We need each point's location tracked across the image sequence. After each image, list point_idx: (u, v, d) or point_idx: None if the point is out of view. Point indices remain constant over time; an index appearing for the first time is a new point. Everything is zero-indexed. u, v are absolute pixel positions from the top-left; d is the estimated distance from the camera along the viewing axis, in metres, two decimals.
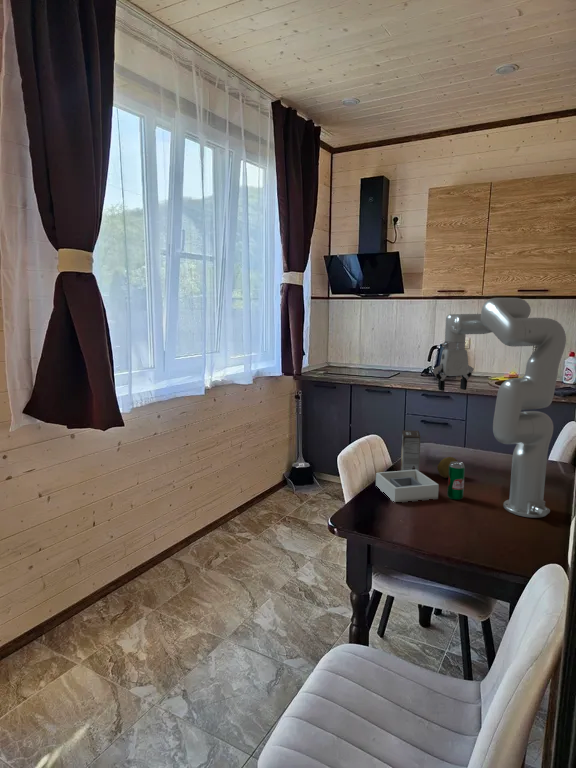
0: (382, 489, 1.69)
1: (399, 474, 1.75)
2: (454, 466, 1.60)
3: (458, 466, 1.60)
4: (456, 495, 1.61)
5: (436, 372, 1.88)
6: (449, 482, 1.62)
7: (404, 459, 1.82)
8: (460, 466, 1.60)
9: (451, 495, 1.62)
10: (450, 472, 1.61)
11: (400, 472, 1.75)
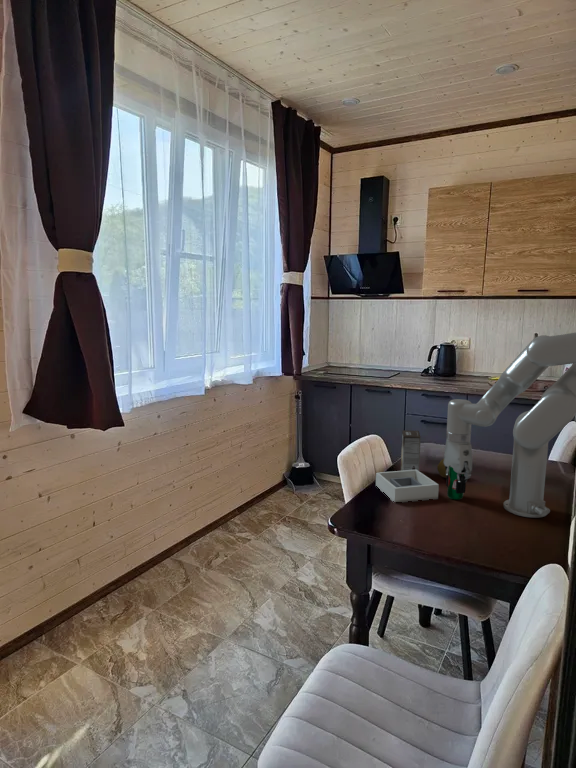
0: (382, 489, 1.69)
1: (399, 474, 1.75)
2: None
3: None
4: (456, 495, 1.61)
5: None
6: (449, 482, 1.62)
7: (404, 459, 1.82)
8: None
9: (451, 495, 1.62)
10: (450, 472, 1.61)
11: (400, 472, 1.75)
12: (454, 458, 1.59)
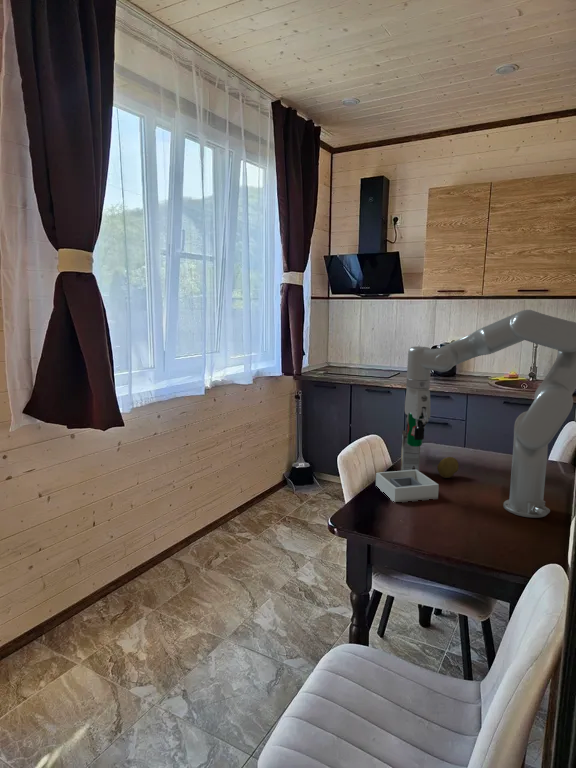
0: (382, 489, 1.69)
1: (399, 474, 1.75)
2: None
3: None
4: (414, 441, 1.62)
5: None
6: (408, 429, 1.64)
7: (404, 459, 1.82)
8: None
9: (410, 442, 1.63)
10: (409, 419, 1.63)
11: (400, 472, 1.75)
12: (413, 404, 1.60)
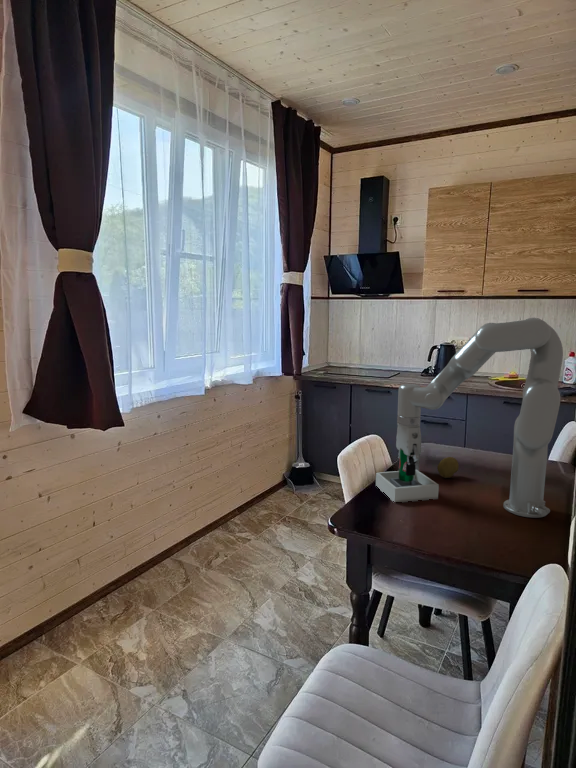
0: (382, 489, 1.69)
1: None
2: None
3: None
4: (406, 477, 1.65)
5: None
6: (400, 464, 1.66)
7: None
8: None
9: (402, 477, 1.66)
10: (400, 455, 1.65)
11: None
12: (404, 441, 1.63)
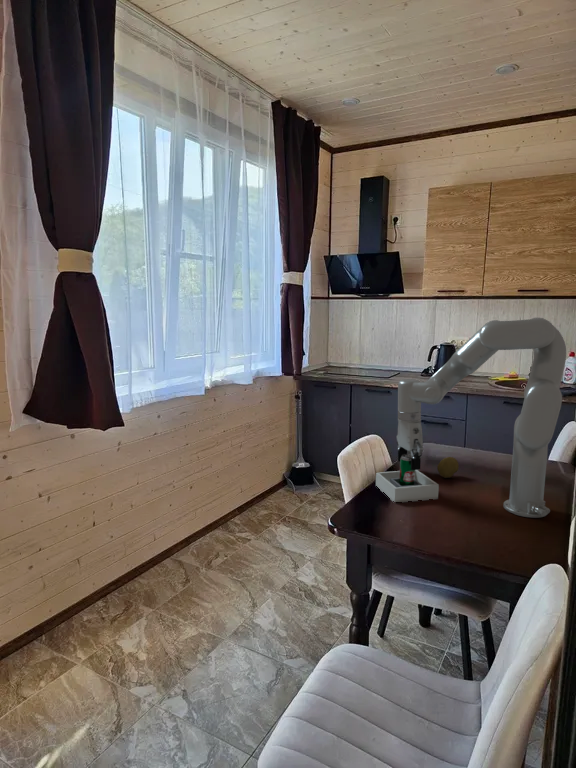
0: (382, 489, 1.69)
1: (399, 474, 1.75)
2: (405, 459, 1.65)
3: (408, 458, 1.65)
4: None
5: None
6: (400, 474, 1.67)
7: None
8: (410, 458, 1.65)
9: None
10: (401, 464, 1.66)
11: None
12: (405, 436, 1.62)
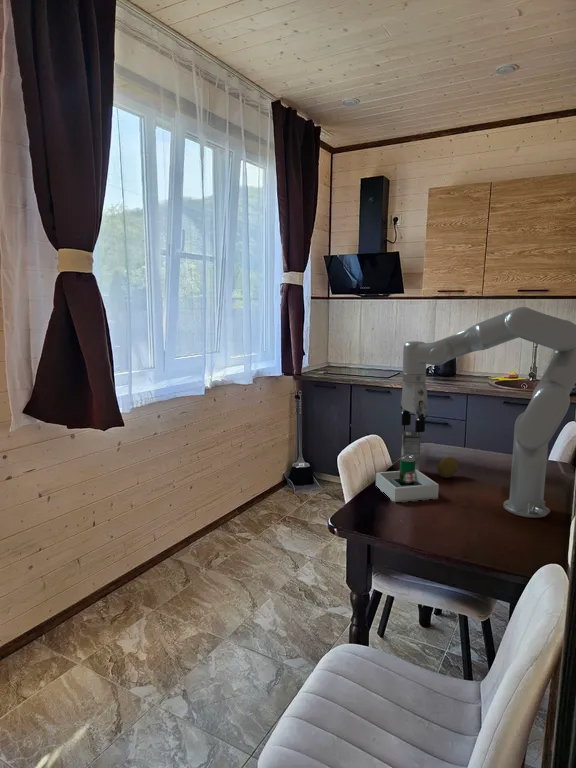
0: (382, 489, 1.69)
1: (399, 474, 1.75)
2: (405, 459, 1.65)
3: (408, 459, 1.64)
4: None
5: None
6: (400, 475, 1.67)
7: None
8: (410, 459, 1.64)
9: None
10: (401, 465, 1.66)
11: None
12: (410, 399, 1.61)
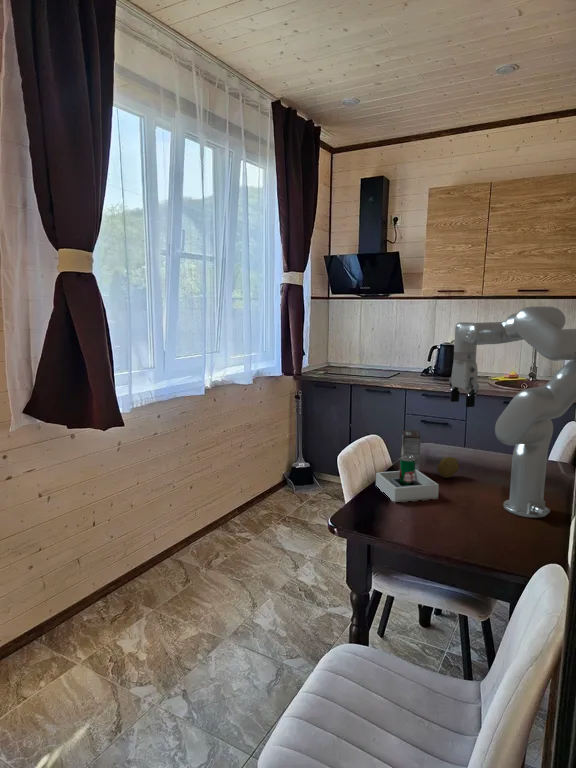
0: (382, 489, 1.69)
1: (399, 474, 1.75)
2: (405, 459, 1.65)
3: (408, 459, 1.64)
4: None
5: None
6: (400, 475, 1.67)
7: None
8: (410, 459, 1.65)
9: None
10: (401, 465, 1.66)
11: None
12: (461, 376, 1.73)
